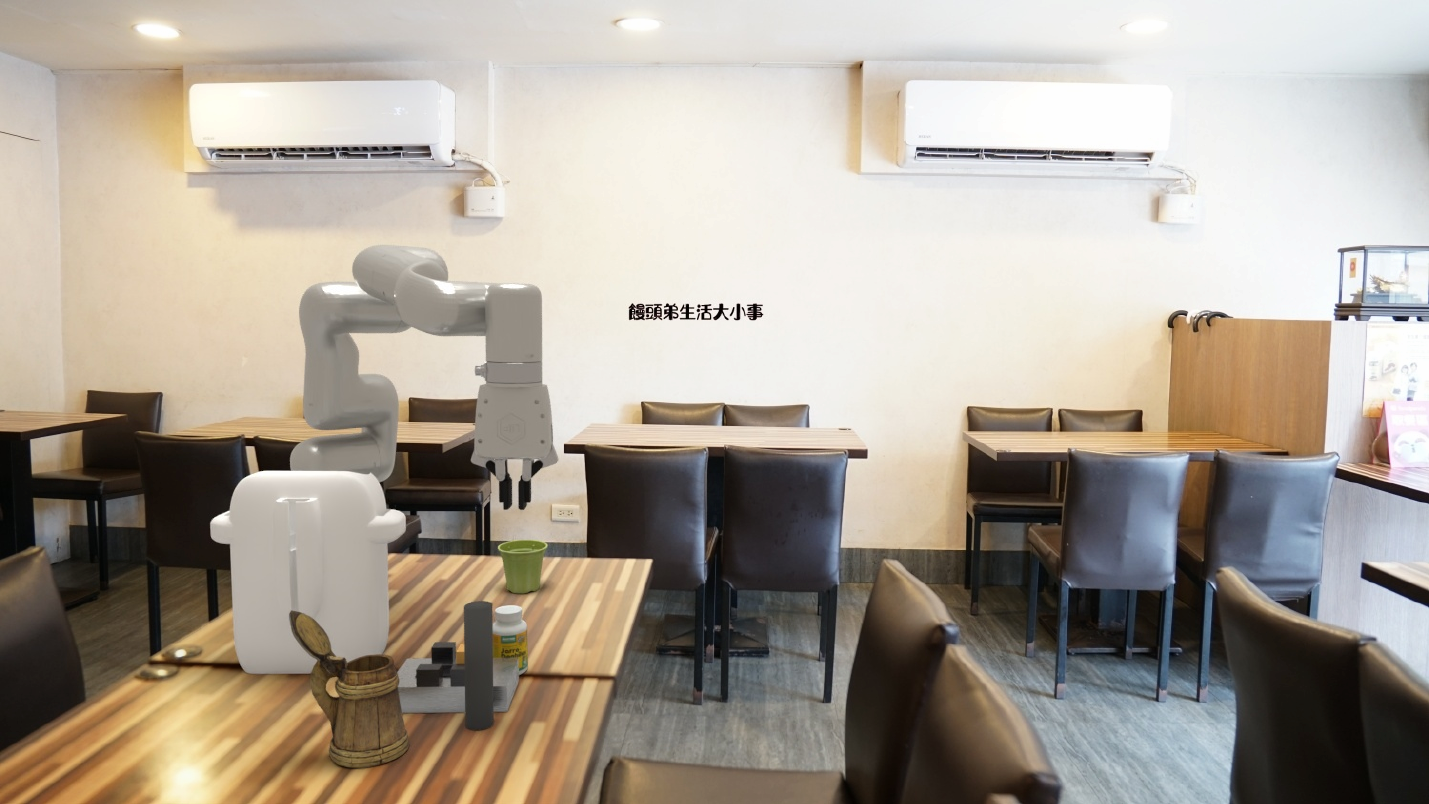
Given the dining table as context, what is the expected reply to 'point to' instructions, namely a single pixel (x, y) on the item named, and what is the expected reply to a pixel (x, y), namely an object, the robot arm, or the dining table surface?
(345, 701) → the wooden mug
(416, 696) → the breaker panel
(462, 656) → the block
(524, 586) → the plant pot
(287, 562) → the toaster
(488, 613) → the post
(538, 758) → the dining table surface
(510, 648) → the supplement bottle
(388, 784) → the dining table surface
